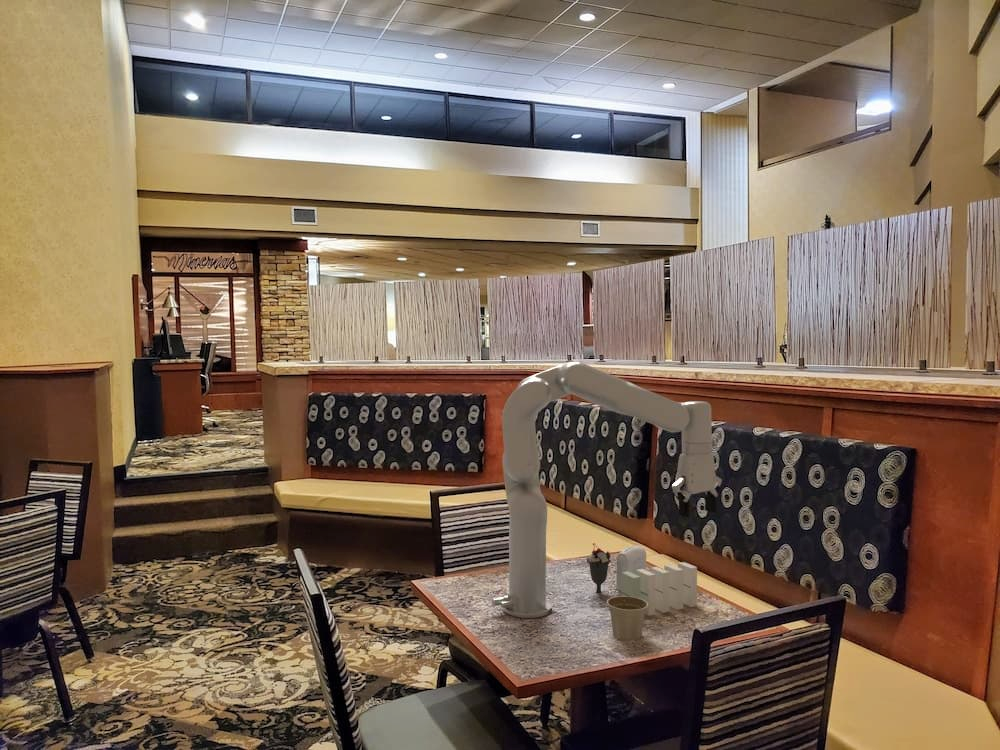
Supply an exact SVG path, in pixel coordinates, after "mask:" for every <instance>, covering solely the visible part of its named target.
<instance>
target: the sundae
mask: <svg viewBox="0 0 1000 750" xmlns="http://www.w3.org/2000/svg"><path fill="white" fill-rule="evenodd" d="M592 545H593V546H594V547H596V548H597V549H596V550H595V549H593V550H592V551H591V554H590V555H589V557H587V558H586V562H587V563H588V566H589V572H590V577H591V580H592V582H593V583H595V585H596V589H595V590H596V591H595V593H596V594H599V595H600V594H602V593H603V592H602V585H603V584H604V583H605V582H606V581H607V577H608V572H609V571H608V570H609V563H611V562H612V559H610V558H611V554H610V551H608V550H607V551H606V552H605V551H604V550H602V549H601V548H599V547H598V546H597V545H596V543H594V542H593V543H592Z"/></svg>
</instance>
